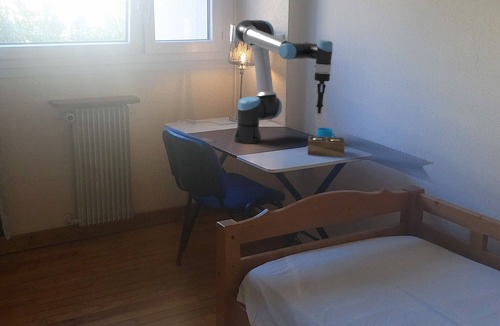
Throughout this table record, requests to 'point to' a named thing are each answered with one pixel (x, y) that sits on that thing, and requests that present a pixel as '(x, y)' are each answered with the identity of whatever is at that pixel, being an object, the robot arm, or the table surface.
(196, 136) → the table surface
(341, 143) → the socket block
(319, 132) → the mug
